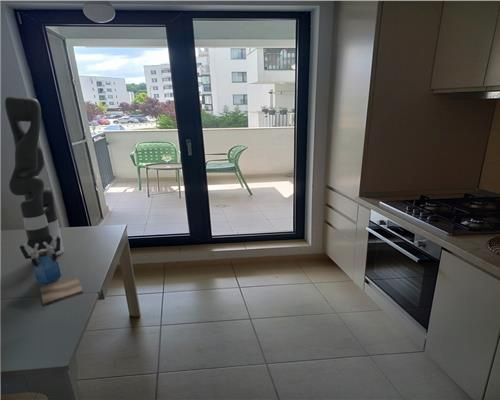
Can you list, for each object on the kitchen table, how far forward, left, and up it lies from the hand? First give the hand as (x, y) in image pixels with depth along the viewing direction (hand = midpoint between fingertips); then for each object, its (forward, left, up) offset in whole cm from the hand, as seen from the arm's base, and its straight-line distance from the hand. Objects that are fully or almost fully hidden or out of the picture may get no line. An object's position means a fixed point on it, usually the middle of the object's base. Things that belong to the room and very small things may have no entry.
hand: (45, 263), depth 123 cm
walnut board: (+14, +3, -7) cm, 16 cm away
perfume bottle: (0, 0, -7) cm, 7 cm away
